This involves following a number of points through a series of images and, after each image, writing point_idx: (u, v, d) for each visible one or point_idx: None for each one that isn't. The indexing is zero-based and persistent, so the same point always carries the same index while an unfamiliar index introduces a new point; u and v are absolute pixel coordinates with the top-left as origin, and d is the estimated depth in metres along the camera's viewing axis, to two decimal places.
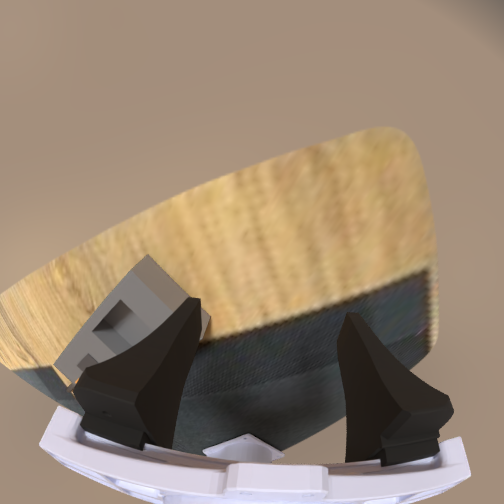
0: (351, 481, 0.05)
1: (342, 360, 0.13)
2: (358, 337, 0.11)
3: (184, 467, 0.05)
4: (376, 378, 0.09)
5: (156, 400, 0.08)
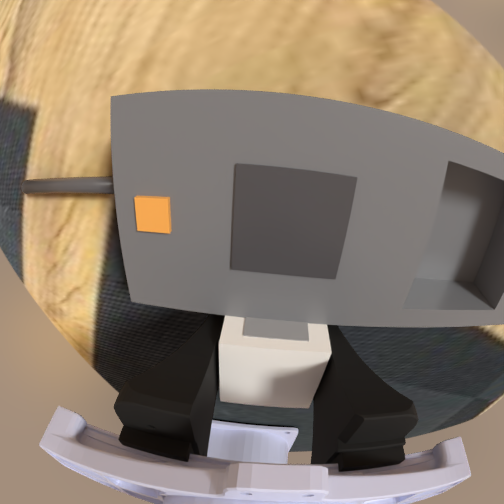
0: (351, 481, 0.05)
1: None
2: None
3: (184, 467, 0.05)
4: (336, 379, 0.09)
5: (201, 409, 0.08)
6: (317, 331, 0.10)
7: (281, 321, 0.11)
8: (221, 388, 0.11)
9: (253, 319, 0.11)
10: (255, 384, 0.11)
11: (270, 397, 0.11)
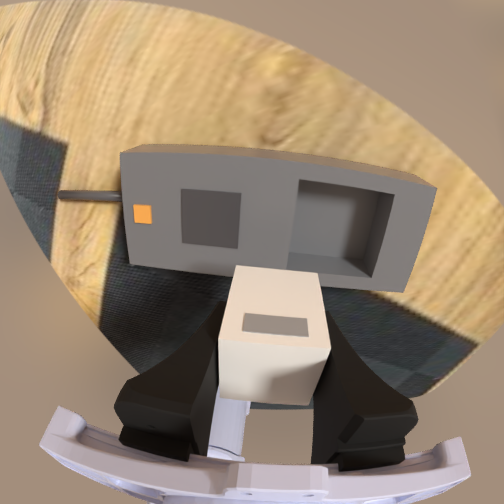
0: (351, 481, 0.05)
1: None
2: None
3: (184, 467, 0.05)
4: (336, 378, 0.09)
5: (201, 409, 0.08)
6: (316, 327, 0.11)
7: (280, 317, 0.11)
8: (221, 384, 0.11)
9: (253, 315, 0.11)
10: (255, 380, 0.11)
11: (269, 394, 0.11)
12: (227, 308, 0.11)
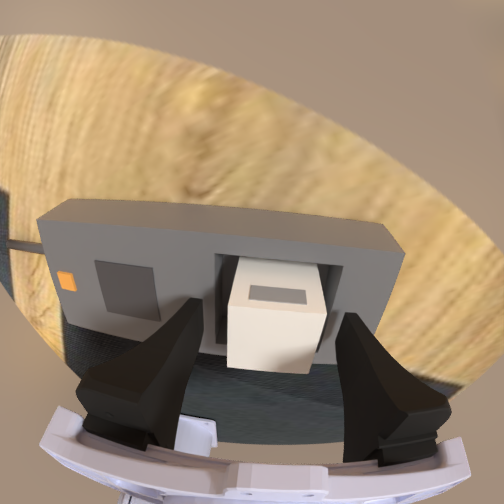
0: (351, 481, 0.05)
1: (340, 360, 0.13)
2: (355, 337, 0.11)
3: (184, 467, 0.05)
4: (373, 378, 0.09)
5: (159, 401, 0.08)
6: (314, 297, 0.12)
7: (282, 288, 0.13)
8: (228, 352, 0.13)
9: (257, 287, 0.13)
10: (259, 347, 0.12)
11: (272, 361, 0.13)
12: (235, 281, 0.13)
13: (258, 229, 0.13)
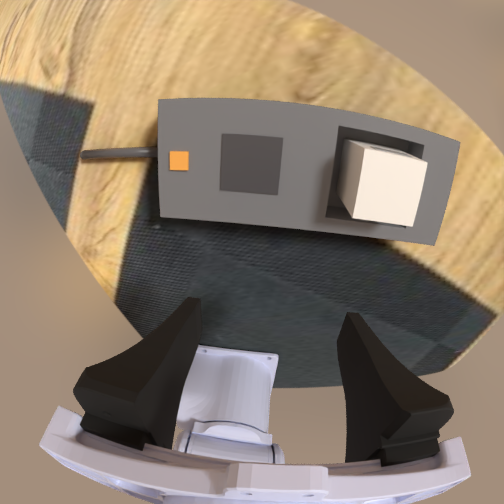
0: (351, 481, 0.05)
1: (342, 360, 0.13)
2: (358, 337, 0.11)
3: (184, 467, 0.05)
4: (376, 378, 0.09)
5: (156, 400, 0.08)
6: (413, 157, 0.14)
7: (391, 151, 0.15)
8: (357, 200, 0.15)
9: (375, 147, 0.15)
10: (382, 193, 0.15)
11: (389, 210, 0.15)
12: (357, 144, 0.15)
13: None
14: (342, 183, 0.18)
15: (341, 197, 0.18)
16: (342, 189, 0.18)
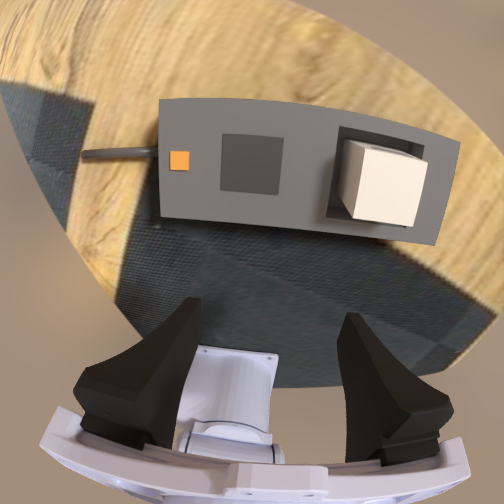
0: (351, 481, 0.05)
1: (342, 360, 0.13)
2: (358, 337, 0.11)
3: (184, 467, 0.05)
4: (376, 378, 0.09)
5: (156, 400, 0.08)
6: (414, 157, 0.14)
7: (391, 151, 0.15)
8: (357, 200, 0.15)
9: (375, 147, 0.15)
10: (382, 193, 0.15)
11: (389, 210, 0.15)
12: (358, 144, 0.15)
13: None
14: (342, 183, 0.18)
15: (341, 197, 0.18)
16: (342, 189, 0.18)
